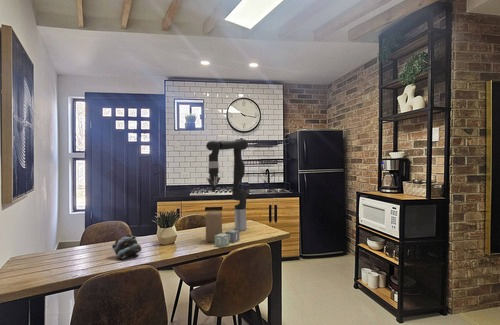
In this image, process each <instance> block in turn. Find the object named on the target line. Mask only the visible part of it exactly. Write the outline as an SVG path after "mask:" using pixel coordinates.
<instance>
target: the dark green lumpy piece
mask: <svg viewBox="0 0 500 325" xmlns="http://www.w3.org/2000/svg"><path fill="white" fill-rule="evenodd" d="M111 247H112V250H113V251H114V253H115V255H116V260H118V259H122V260H124V259H126V258H128V257H130V256H133V255H137V254H138V253H140V252H141V251H142V247H141V245H140V244H139V243H138V241H137V239H136V236H135V235H132V236H131V235H130V234H127V235H126V236H123V237H121V238H120V239H116V240H115V242H114V243H113V244H112V245H111Z"/></svg>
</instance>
